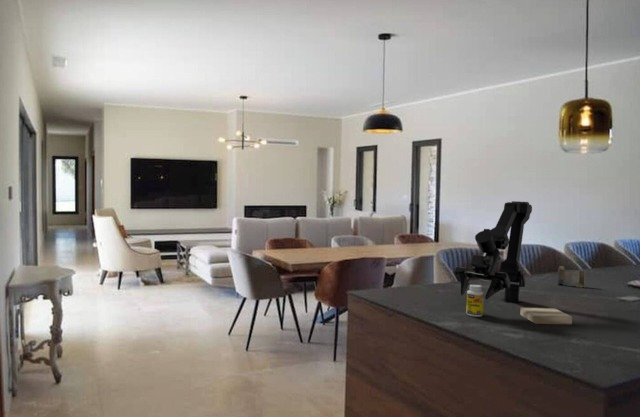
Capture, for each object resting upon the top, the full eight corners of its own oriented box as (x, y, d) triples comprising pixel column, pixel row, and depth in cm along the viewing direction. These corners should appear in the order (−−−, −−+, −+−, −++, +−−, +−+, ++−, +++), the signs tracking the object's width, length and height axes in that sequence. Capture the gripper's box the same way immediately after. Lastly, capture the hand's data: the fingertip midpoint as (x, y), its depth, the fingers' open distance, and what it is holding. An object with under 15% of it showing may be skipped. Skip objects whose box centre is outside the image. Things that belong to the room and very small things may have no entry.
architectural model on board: (557, 286, 243) (558, 265, 242) (557, 285, 245) (558, 264, 245) (584, 288, 238) (585, 267, 237) (584, 287, 241) (585, 266, 240)
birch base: (520, 314, 181) (520, 307, 180) (554, 315, 181) (554, 308, 181) (535, 323, 169) (535, 315, 168) (571, 324, 169) (572, 316, 169)
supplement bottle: (464, 315, 177) (465, 285, 176) (468, 312, 182) (469, 283, 181) (481, 318, 174) (482, 287, 174) (484, 314, 179) (485, 285, 178)
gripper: (457, 244, 186) (441, 278, 178) (508, 249, 174) (494, 286, 166) (465, 264, 192) (450, 297, 184) (516, 270, 180) (502, 306, 172)
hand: (473, 296), depth 176 cm, fingers open, 8 cm apart
